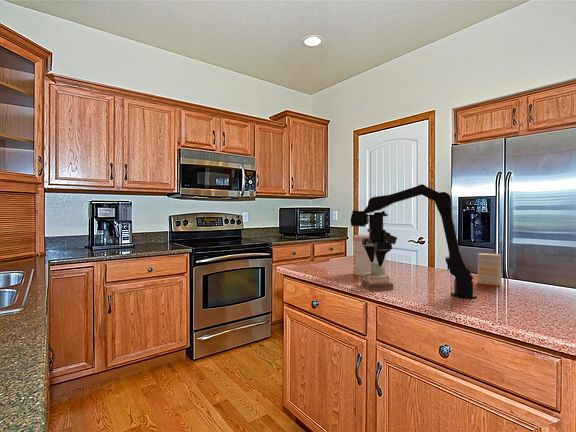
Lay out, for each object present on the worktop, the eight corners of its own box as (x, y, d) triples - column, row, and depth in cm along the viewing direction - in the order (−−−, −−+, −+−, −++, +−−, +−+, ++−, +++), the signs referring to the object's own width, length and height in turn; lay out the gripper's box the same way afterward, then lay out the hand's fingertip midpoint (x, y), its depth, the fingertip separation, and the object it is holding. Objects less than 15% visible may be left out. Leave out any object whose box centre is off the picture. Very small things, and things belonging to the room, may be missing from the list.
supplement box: (501, 284, 144) (502, 254, 143) (499, 286, 140) (499, 255, 140) (480, 281, 149) (480, 252, 149) (477, 283, 146) (477, 253, 145)
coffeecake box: (386, 277, 159) (386, 236, 158) (376, 279, 155) (376, 237, 154) (362, 272, 171) (362, 234, 171) (352, 274, 167) (352, 235, 167)
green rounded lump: (384, 275, 138) (384, 264, 138) (373, 275, 138) (373, 264, 138) (380, 272, 143) (380, 262, 143) (369, 273, 143) (368, 262, 143)
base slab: (393, 291, 136) (393, 283, 136) (369, 292, 135) (369, 284, 135) (383, 285, 146) (383, 278, 146) (361, 286, 145) (361, 279, 145)
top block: (389, 283, 137) (389, 276, 137) (370, 284, 136) (370, 276, 136) (381, 279, 145) (381, 272, 145) (363, 279, 144) (363, 272, 144)
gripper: (405, 228, 132) (404, 267, 132) (385, 225, 150) (385, 260, 151) (377, 228, 130) (377, 268, 131) (361, 225, 149) (361, 260, 149)
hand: (376, 264), depth 140 cm, fingers open, 9 cm apart
